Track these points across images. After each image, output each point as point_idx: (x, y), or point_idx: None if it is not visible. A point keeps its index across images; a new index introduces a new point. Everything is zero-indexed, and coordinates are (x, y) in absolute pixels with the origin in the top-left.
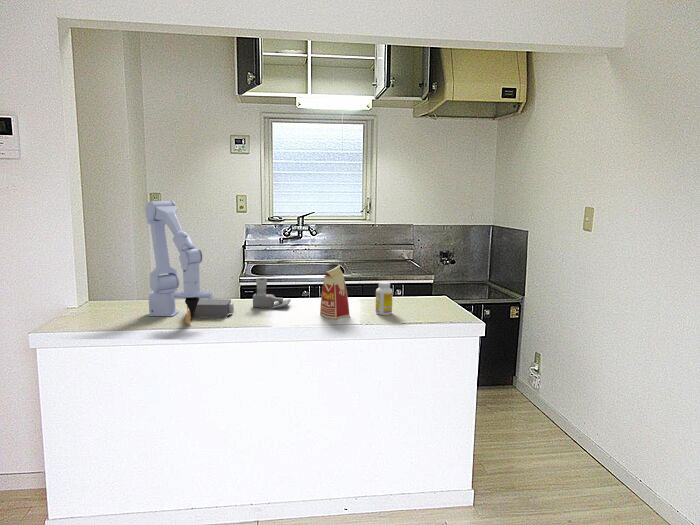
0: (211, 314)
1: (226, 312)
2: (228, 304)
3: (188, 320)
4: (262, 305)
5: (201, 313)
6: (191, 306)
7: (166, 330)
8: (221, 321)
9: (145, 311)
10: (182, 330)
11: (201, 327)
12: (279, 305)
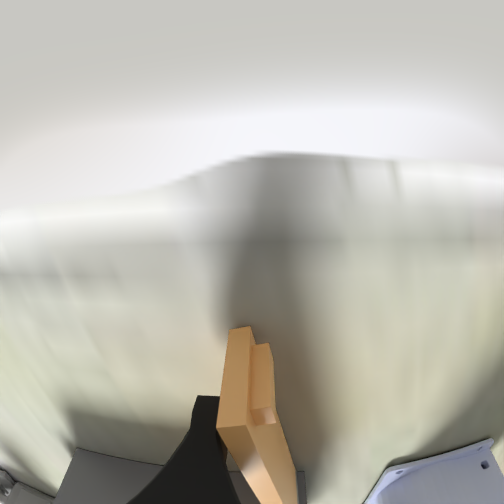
0: (151, 478)
1: (68, 469)
2: None
3: (239, 356)
4: (34, 496)
5: None
6: (181, 501)
7: (421, 169)
8: (57, 395)
9: None
10: (260, 164)
11: (107, 272)
12: None
